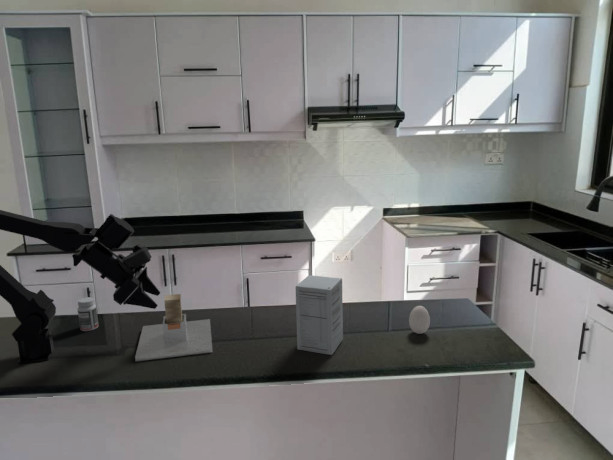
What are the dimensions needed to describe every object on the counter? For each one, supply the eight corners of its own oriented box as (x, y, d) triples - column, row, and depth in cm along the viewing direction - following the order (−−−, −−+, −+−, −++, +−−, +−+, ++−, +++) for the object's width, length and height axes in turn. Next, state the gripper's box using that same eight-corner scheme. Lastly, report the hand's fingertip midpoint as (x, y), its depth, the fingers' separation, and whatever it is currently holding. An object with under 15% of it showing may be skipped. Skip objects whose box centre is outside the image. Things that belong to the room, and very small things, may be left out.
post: (167, 339, 118) (163, 300, 116) (168, 332, 122) (164, 295, 119) (183, 337, 119) (180, 299, 117) (183, 331, 123) (180, 293, 120)
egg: (431, 337, 120) (432, 310, 119) (410, 337, 121) (411, 310, 119) (427, 328, 125) (428, 302, 124) (407, 328, 126) (408, 302, 124)
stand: (135, 361, 110) (133, 338, 109) (143, 330, 127) (141, 309, 126) (212, 352, 114) (211, 329, 113) (210, 323, 131) (208, 303, 130)
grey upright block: (343, 339, 120) (344, 277, 116) (332, 356, 111) (332, 289, 108) (309, 334, 123) (308, 274, 120) (295, 349, 115) (294, 285, 111)
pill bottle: (93, 323, 132) (90, 295, 131) (101, 327, 129) (98, 299, 128) (76, 328, 129) (73, 300, 127) (85, 333, 126) (81, 304, 124)
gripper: (122, 247, 104) (177, 289, 108) (133, 230, 121) (180, 266, 126) (89, 284, 104) (146, 324, 108) (104, 261, 121) (152, 296, 126)
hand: (157, 300), depth 117 cm, fingers open, 9 cm apart
